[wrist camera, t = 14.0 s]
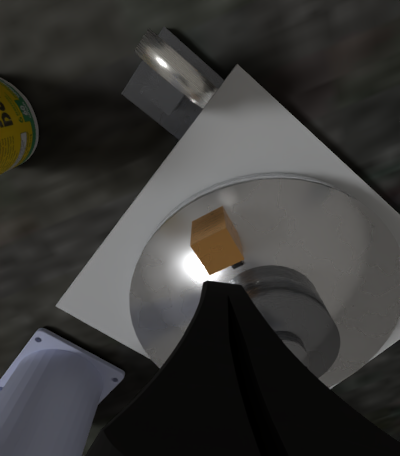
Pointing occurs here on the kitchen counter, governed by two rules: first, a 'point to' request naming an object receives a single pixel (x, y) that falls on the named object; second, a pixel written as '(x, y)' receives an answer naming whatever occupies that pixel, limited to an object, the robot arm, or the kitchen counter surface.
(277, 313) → the cover
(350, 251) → the turntable
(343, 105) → the kitchen counter surface
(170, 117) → the block with chrome knob
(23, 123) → the supplement bottle
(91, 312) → the base plate
